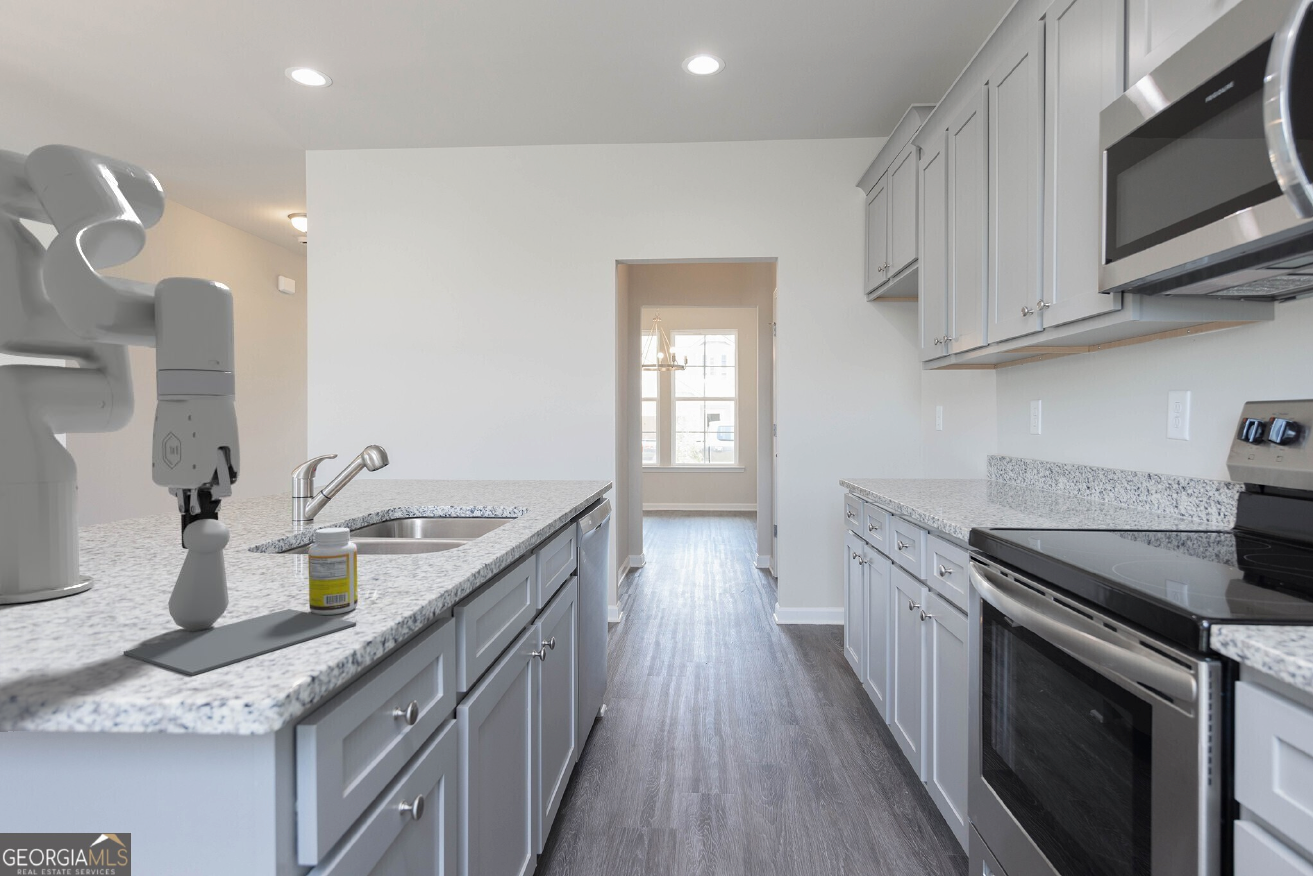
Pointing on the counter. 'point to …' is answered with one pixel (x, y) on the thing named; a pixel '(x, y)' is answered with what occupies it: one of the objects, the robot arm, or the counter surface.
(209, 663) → the mat
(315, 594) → the supplement bottle
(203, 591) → the salt shaker
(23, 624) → the counter surface
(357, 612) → the counter surface
